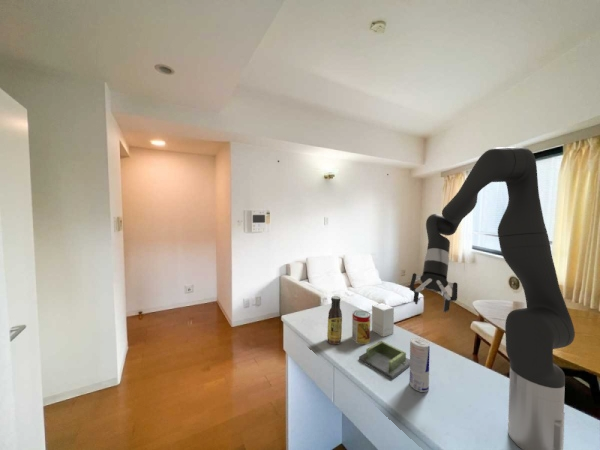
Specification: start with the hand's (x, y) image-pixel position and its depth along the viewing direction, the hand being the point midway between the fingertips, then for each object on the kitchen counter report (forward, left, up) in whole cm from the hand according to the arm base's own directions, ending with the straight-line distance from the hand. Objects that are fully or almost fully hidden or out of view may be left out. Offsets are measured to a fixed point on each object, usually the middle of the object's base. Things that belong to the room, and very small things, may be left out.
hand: (430, 307), depth 77 cm
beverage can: (0, +6, -25) cm, 26 cm away
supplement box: (+28, -17, -25) cm, 41 cm away
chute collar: (+14, +3, -25) cm, 29 cm away
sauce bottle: (+36, +8, -25) cm, 45 cm away
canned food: (+30, -3, -25) cm, 39 cm away
